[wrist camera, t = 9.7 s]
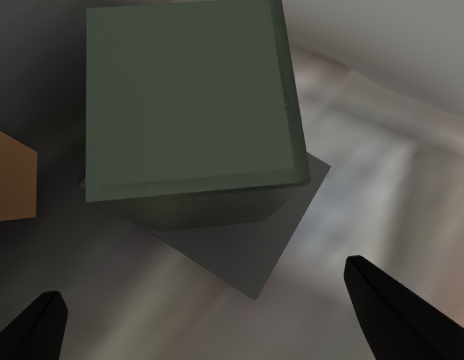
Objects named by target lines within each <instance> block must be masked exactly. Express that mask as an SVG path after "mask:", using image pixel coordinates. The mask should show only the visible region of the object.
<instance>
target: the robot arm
mask: <svg viewBox="0 0 464 360" xmlns="http://www.w3.org/2000/svg"><path fill="white" fill-rule="evenodd" d="M344 281H345V284H346V287H347V290H348V293H349V295H350V298H351V301H352V304H353V307H354V310H355V313H356V316H357V318H358V321H359V324H360V326H361V329H362V331H363V333H364V335H365V337H366V340H367V342H368V344H369V346H370V348H371V350H372V352H373V354H374V356H375V359H376V360H464V328H463V327H462V326H460V325H459V324H457V323H456V322H455V321H453V320H452V319H450V318H449V317H447V316H446V315H445V314H443V313H442V312H440V311H439V310H438V309H436V308H435V307H433V306H432V305H430V304H429V303H428V302H426V301H425V300H423V299H422V298H421V297H419V296H418V295H416V294H415V293H413V292H412V291H411V290H409V289H408V288H406V287H405V286H404V285H402V284H401V283H399V282H398V281H397V280H395V279H394V278H392V277H391V276H389V275H388V274H387V273H385V272H384V271H382V270H381V269H380V268H378V267H377V266H375V265H374V264H372V263H371V262H370V261H368V260H367V259H365V258H364V257H362V256H360V255H355V256H349V257H347V259H346V264H345V270H344ZM67 317H68V308H67V306H66V304H65V302H64V300H63V298H62V296H61V294H60V292H59V291H49V292H44V293H42V294H41V295H40V296H39V297H38V298H37V299H35V300H34V301H33V302H32V303H31V304H30V305H29V306H28V307H27V308H26V309H25V310H24V311H22V312H21V313H20V314H19V315H18V316H17V317H16V318H15V319H14V320H13V321H12V322H11V323H10V324H8V325H7V326H6V327H5V328H4V329H3V330H2V331H1V332H0V360H59V357H60V352H61V347H62V342H63V337H64V332H65V327H66V322H67Z"/></svg>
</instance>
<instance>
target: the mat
mask: <svg viewBox="0 0 464 360" xmlns="http://www.w3.org/2000/svg"><path fill="white" fill-rule="evenodd" d="M307 158H308V164H309V170H310V176H311V182H310V183H309V184H308V185H306V186H305V187H304V188H303V189H302V190H300V191H299V192H298V193H297V194H296V195H294V196H293V197H292V198H291V199H290V200H289V201H287V202H286V203H285V204H284V205H283V206H281V207H280V208H279V209H278V210H277V211H276V212H274V213H273V214H272V215H271V216H270V217H268V218H267V219H266V220H265V221H264V222H254V223H244V224H234V225H224V226H214V227H204V228H193V229H183V230H173V231H163V232H158V231H155V230H153V229H150V228H148V227H146V226H143V225H141V224H138V223H137V224H138V225H140V226H141V227H143V228H144V229H146V230H147V231H149V232H150V233H152V234H153V235H155V236H157V237H158V238H160V239H161V240H163V241H164V242H166V243H167V244H169V245H170V246H172V247H173V248H175V249H177V250H178V251H180V252H181V253H183V254H184V255H186V256H187V257H189V258H190V259H192V260H193V261H195V262H197V263H198V264H200V265H201V266H203V267H204V268H206V269H207V270H209V271H210V272H212V273H213V274H215V275H217V276H218V277H220V278H221V279H223V280H224V281H226V282H227V283H229V284H230V285H232V286H233V287H235V288H237V289H238V290H240V291H241V292H243V293H244V294H246V295H247V296H249V297H250V298H252V299H253V300H256V298H257V297H258V295H259V293H260V291H261V289H262V288H263V286H264V284H265V282H266V281H267V279H268V277H269V275H270V274H271V272H272V270H273V268H274V267H275V265H276V263H277V261H278V259H279V258H280V256H281V254H282V252H283V251H284V249H285V247H286V245H287V244H288V242H289V240H290V238H291V236H292V235H293V233H294V231H295V229H296V228H297V226H298V224H299V222H300V221H301V219H302V217H303V215H304V213H305V212H306V210H307V208H308V206H309V205H310V203H311V201H312V199H313V198H314V196H315V194H316V192H317V190H318V189H319V187H320V185H321V183H322V182H323V180H324V178H325V176H326V175H327V173H328V171H329V169H330V168H331V166H330V165H328V164H326V163H324V162H323V161H321V160H319V159H318V158H316V157H314V156H313V155H311V154H309V153H307ZM79 186H80V187H81V188H83V189H84V190H86V177H85V178H84V179H83V181H82V182H81V183H80V185H79ZM135 223H136V222H135Z"/></svg>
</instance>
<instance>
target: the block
mask: <svg viewBox="0 0 464 360" xmlns="http://www.w3.org/2000/svg"><path fill="white" fill-rule="evenodd" d="M36 187H37V152H36V151H34V150H33V149H31V148H29V147H27V146H26V145H24V144H22V143H20V142H19V141H17V140H15V139H13V138H12V137H10V136H8V135H6V134H5V133H3V132H1V131H0V221H5V220H14V219H23V218H31V217H36Z"/></svg>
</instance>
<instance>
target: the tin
mask: <svg viewBox="0 0 464 360" xmlns="http://www.w3.org/2000/svg"><path fill="white" fill-rule="evenodd" d="M310 182H311V176H310V170H309V164H308V158H307V152H306V145H305V139H304V133H303V127H302V121H301V115H300V109H299V103H298V97H297V91H296V85H295V79H294V73H293V66H292V60H291V54H290V48H289V42H288V36H287V30H286V24H285V19H284V12H283V6H282V1H281V0H218V1H204V2H203V1H201V2H185V3H168V4H151V5H134V6H118V7H101V8H87V49H86V203H89V204H91V205H94V206H96V207H99V208H101V209H104V210H106V211H109V212H111V213H113V214H116V215H118V216H121V217H123V218H126V219H128V220H131V221H133V222H136V223H138V224H141V225H143V226H146V227H148V228H150V229H153V230H155V231H158V232H163V231H173V230H183V229H193V228H204V227H214V226H224V225H234V224H244V223H254V222H264V221H265V220H266V219H267V218H268V217H270V216H271V215H272V214H273V213H274V212H276V211H277V210H278V209H279V208H280V207H281V206H283V205H284V204H285V203H286V202H287V201H289V200H290V199H291V198H292V197H293V196H294V195H296V194H297V193H298V192H299V191H300V190H302V189H303V188H304V187H305V186H306V185H308V184H309V183H310Z"/></svg>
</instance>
